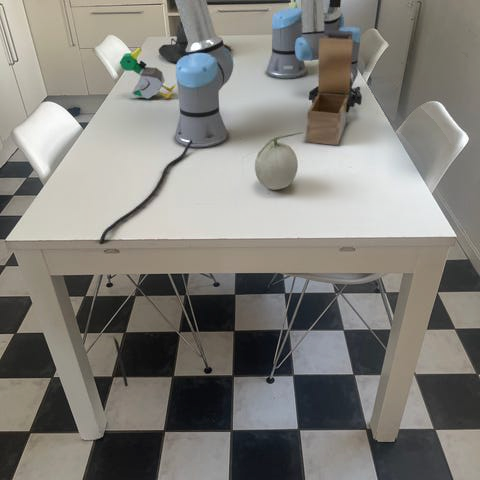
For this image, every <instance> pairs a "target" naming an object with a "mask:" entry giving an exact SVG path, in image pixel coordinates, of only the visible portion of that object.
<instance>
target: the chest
mask: <svg viewBox="0 0 480 480" xmlns="http://www.w3.org/2000/svg"><path fill="white" fill-rule="evenodd" d="M348 98H349V95H342V94H330V93H318V94H317V96H316V98H315V100H314V102H313V103H312V102H311V103H312V104H311V105H310V107H309V108H308V110H307V118H306V119H307V120H306V136H305V143H313V144H321V145H332V146H339V143H340V141H341V138H342V136H343V132H344V129H345V128H346V124H347V117H348V113H346V106H347V102H348Z"/></svg>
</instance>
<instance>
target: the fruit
mask: <svg viewBox="0 0 480 480" xmlns="http://www.w3.org/2000/svg"><path fill="white" fill-rule="evenodd" d="M301 134H304V131H300V132H295V133H289V134H283V135H282V134H281V135H278V136H274V137H273V138H271V139H270V140H269V141H268V142H266V144H265V145H264V146H262V147H261V148H260V150H259V151H258V153H257V154H256V158H255V159H254V160H255V161H254V171H255V175H256V179H257V180H258V182H259V183H260V184H261V185H262V186H264V187H265V188H267V189H268V190H274V191H276V190H282V189H285V188H287V187H288V186H290V185H291V184H292V182H293V181H294V180H295V178H296V176H297V173H298V167H299V166H298V158H297V155H296V153H295V150H294V149H293V148H292V147H291V146H290V145H288V144H286V143H284V142H281V141H280V142H279V140H281V139H283V138H287V137H293V136H296V135H301Z"/></svg>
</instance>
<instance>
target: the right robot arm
mask: <svg viewBox="0 0 480 480" xmlns="http://www.w3.org/2000/svg"><path fill="white" fill-rule="evenodd" d="M329 6H330V0H300V7H298V8H290V7H288V8H284V9H280V10H278V11H276V12H275V13H274V14H273V16H272V23H271V54H270V58H269V61H268V63H267V66H266V74H267V75H269V76H270V77H272V78H277V79H283V80H284V79H287V80H288V79H295V78H300V77H303V76H305V75H306V71H307V70H306V69H307V67H306V64H305V62H306V61H307V62H308V61H310V62H312V61H319V39H320V38H326V37H327V31H328V30H334V31H353V36H352V39H353V47H352V62H351V76H350V90H349V94H343V93H331V92H319V91H318V85H317V86H315V87H314V88H313V89H311V90H309V92H308V101H311V103H313V102H314V100H315V98H316V96H317V94H318V93H330V94H342V95H349V98H348V102H347V106H346V113H347V114H348V113H349V112H350V110H351V108H354V107H355V105H356V104H357V105H359V106H360V105H362V100H363V96H362V93H361V87H360V86H356V87H354V88H353V86H354V83H355V81H356V78H357V77H358V73H359V69H358V65H359V64H358V63H359V62H358V61H359V53H360V47H361V29H360V28H358V27H356V26H344V23H345V16H344V13H343V12H342V8H341V6H340V7H329Z"/></svg>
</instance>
